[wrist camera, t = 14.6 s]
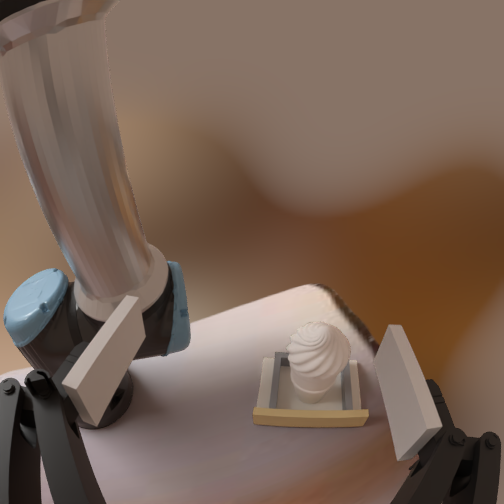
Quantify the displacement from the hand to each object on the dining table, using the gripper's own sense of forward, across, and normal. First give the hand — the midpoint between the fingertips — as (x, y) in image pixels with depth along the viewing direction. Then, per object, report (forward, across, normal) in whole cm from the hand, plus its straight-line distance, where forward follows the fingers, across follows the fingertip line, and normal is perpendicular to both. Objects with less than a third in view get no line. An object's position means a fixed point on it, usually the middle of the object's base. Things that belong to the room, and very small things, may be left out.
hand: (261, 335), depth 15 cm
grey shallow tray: (+18, +9, -27) cm, 34 cm away
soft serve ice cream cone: (+18, +9, -27) cm, 33 cm away
